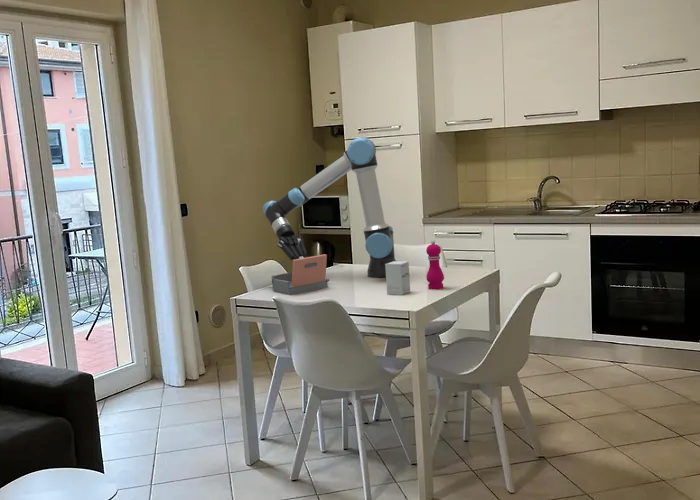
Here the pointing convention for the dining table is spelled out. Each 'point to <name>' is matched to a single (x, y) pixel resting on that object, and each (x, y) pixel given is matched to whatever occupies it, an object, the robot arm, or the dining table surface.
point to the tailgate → (309, 270)
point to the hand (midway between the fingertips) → (306, 269)
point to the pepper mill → (434, 267)
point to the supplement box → (397, 277)
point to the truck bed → (284, 284)
